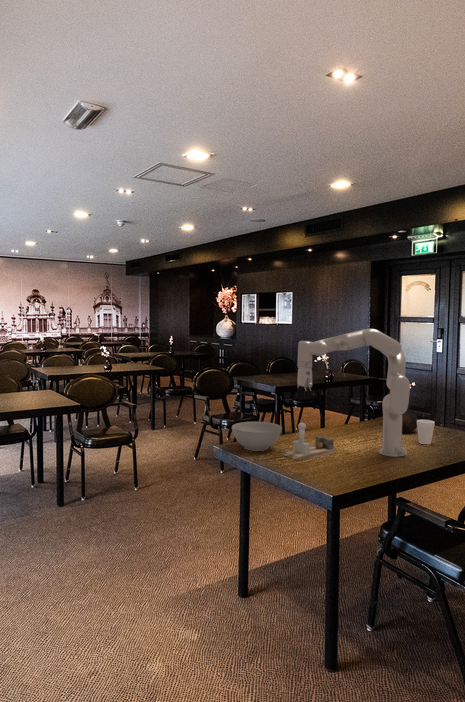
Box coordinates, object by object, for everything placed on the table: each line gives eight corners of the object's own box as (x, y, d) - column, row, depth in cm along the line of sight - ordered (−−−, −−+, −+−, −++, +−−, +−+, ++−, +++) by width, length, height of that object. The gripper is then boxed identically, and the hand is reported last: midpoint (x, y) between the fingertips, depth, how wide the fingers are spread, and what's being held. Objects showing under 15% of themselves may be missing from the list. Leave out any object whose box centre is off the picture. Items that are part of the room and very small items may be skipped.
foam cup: (434, 446, 275) (435, 423, 274) (416, 445, 278) (417, 422, 277) (433, 442, 284) (433, 420, 283) (415, 441, 287) (416, 419, 286)
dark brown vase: (418, 435, 301) (420, 390, 299) (387, 433, 306) (389, 388, 304) (416, 429, 318) (418, 386, 316) (387, 427, 323) (389, 385, 321)
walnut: (324, 448, 260) (324, 443, 260) (319, 449, 258) (319, 443, 258) (319, 447, 263) (319, 441, 263) (314, 448, 261) (314, 442, 261)
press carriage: (310, 453, 250) (311, 423, 249) (305, 454, 248) (305, 424, 247) (298, 449, 257) (298, 420, 257) (292, 450, 255) (293, 421, 254)
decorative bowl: (270, 441, 283) (271, 420, 282) (289, 453, 257) (289, 430, 256) (225, 444, 275) (225, 422, 274) (239, 457, 249) (240, 433, 249)
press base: (335, 452, 259) (335, 439, 259) (299, 460, 244) (300, 447, 243) (318, 448, 269) (318, 435, 269) (283, 455, 253) (283, 442, 253)
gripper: (318, 366, 251) (317, 399, 252) (305, 363, 268) (304, 394, 269) (304, 366, 249) (303, 399, 250) (292, 363, 266) (291, 394, 267)
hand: (303, 397), depth 259 cm, fingers open, 9 cm apart
